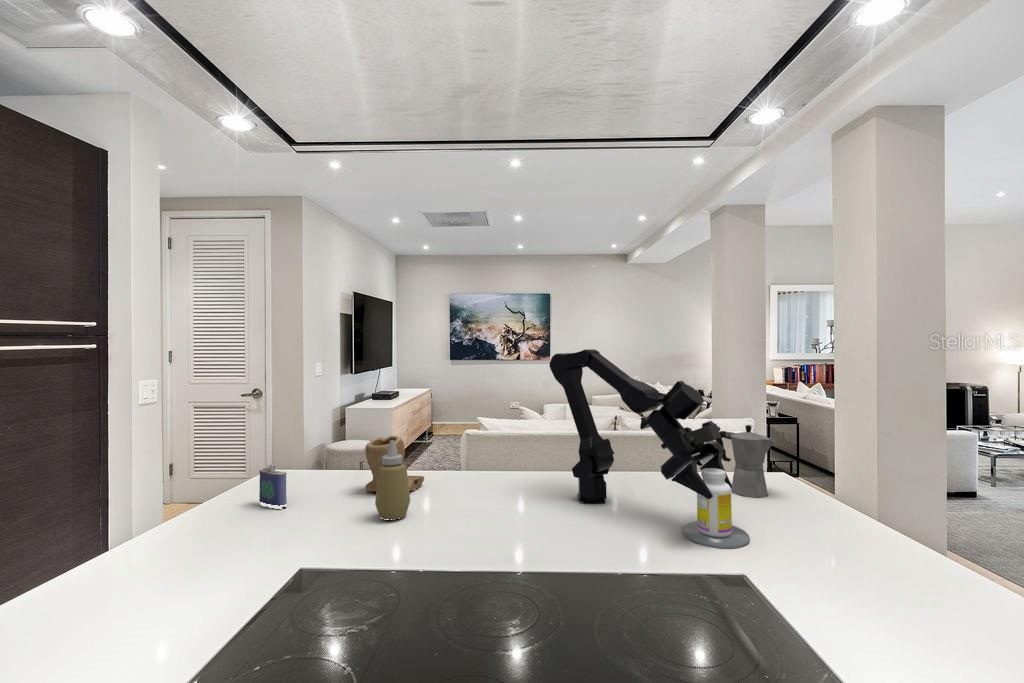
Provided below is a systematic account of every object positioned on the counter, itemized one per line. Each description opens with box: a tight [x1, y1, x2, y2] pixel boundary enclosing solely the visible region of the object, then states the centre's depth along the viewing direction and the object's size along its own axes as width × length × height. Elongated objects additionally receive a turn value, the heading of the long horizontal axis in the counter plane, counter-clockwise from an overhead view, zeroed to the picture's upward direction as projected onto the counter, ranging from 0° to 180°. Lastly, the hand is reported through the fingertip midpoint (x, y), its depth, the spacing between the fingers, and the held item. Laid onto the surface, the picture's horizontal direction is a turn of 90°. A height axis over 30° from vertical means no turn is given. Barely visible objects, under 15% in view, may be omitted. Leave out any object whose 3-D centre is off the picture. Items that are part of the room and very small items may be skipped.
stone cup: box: [364, 435, 425, 493], centre depth 133 cm, size 15×12×15 cm
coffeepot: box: [715, 424, 777, 499], centre depth 129 cm, size 15×9×18 cm, turn 44°
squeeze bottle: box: [374, 440, 411, 520], centre depth 113 cm, size 8×8×18 cm
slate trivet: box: [681, 520, 751, 550], centre depth 100 cm, size 13×13×1 cm
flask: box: [258, 463, 288, 506], centre depth 121 cm, size 9×3×11 cm, turn 61°
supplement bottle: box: [696, 468, 733, 537], centre depth 100 cm, size 7×7×13 cm
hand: (721, 492), depth 99 cm, fingers open, 9 cm apart
